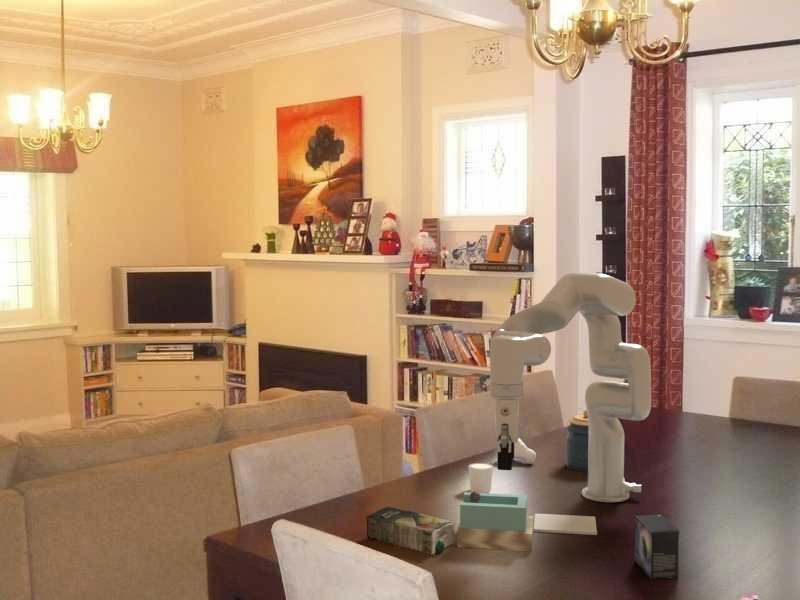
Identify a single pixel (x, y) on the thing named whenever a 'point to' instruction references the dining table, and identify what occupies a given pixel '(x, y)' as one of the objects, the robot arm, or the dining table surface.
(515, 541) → the stand
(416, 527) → the juice carton
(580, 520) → the mat
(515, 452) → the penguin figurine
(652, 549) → the small box
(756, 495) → the dining table surface
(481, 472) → the shot glass
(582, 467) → the canister
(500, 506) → the c link
